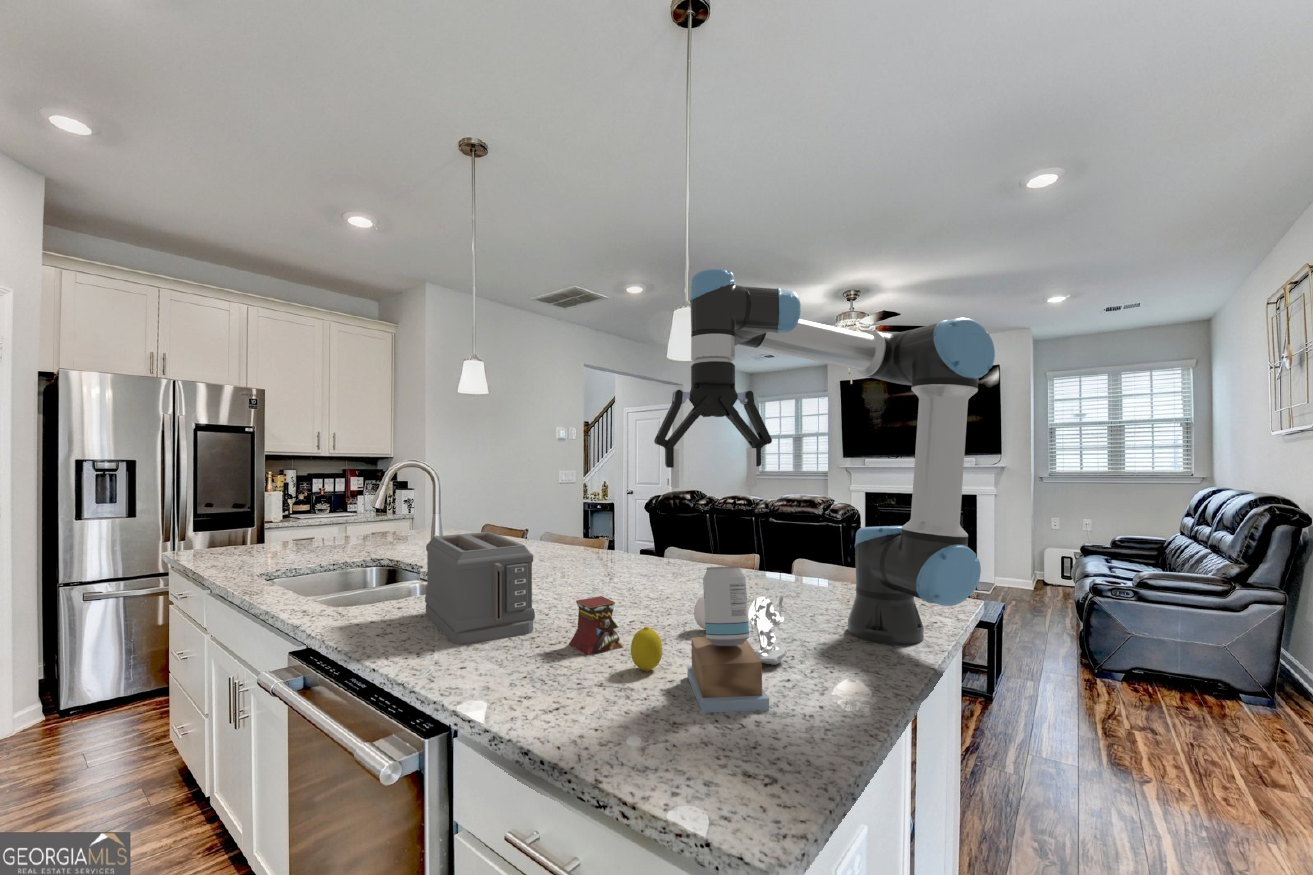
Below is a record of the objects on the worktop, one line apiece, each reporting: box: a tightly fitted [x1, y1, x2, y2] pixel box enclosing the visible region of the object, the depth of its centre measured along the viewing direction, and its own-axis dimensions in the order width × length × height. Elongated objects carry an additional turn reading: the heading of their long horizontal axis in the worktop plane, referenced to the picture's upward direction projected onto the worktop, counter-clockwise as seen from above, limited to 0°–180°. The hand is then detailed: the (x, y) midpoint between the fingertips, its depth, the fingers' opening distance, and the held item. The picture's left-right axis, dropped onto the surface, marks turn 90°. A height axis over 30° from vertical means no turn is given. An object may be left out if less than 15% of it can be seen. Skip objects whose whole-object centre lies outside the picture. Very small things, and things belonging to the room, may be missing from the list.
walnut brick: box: [691, 636, 763, 698], centre depth 93 cm, size 9×12×5 cm
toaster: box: [424, 531, 536, 645], centre depth 132 cm, size 17×31×19 cm, turn 34°
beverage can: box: [702, 565, 750, 646], centre depth 95 cm, size 7×7×12 cm
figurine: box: [748, 595, 787, 666], centre depth 107 cm, size 9×6×12 cm
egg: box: [693, 594, 706, 630], centre depth 127 cm, size 6×6×8 cm
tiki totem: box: [568, 595, 624, 656], centre depth 116 cm, size 9×9×9 cm
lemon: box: [630, 626, 663, 672], centre depth 103 cm, size 6×6×8 cm
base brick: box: [686, 665, 770, 714], centre depth 93 cm, size 10×14×3 cm
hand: (713, 486), depth 100 cm, fingers open, 13 cm apart
